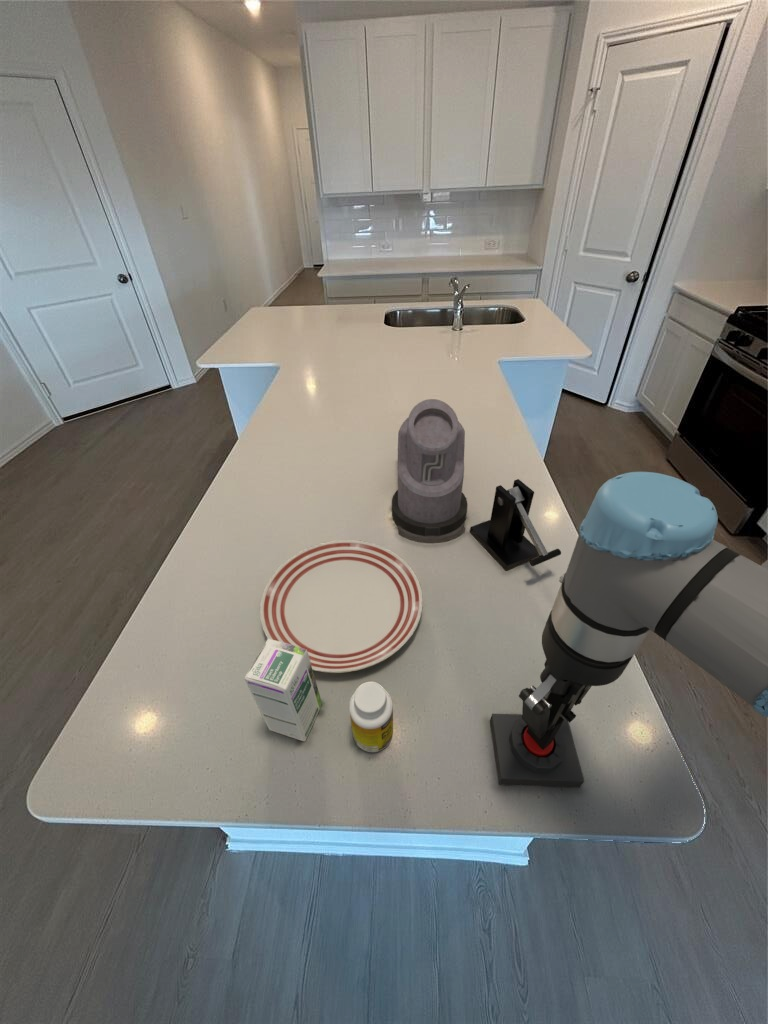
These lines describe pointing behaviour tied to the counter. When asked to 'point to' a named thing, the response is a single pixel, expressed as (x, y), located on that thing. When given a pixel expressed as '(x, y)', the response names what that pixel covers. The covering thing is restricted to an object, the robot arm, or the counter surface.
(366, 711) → the supplement bottle
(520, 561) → the bracket
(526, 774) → the button block
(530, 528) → the lever
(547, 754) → the button
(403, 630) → the dinner plate
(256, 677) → the syrup box
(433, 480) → the grey piece
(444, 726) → the counter surface
